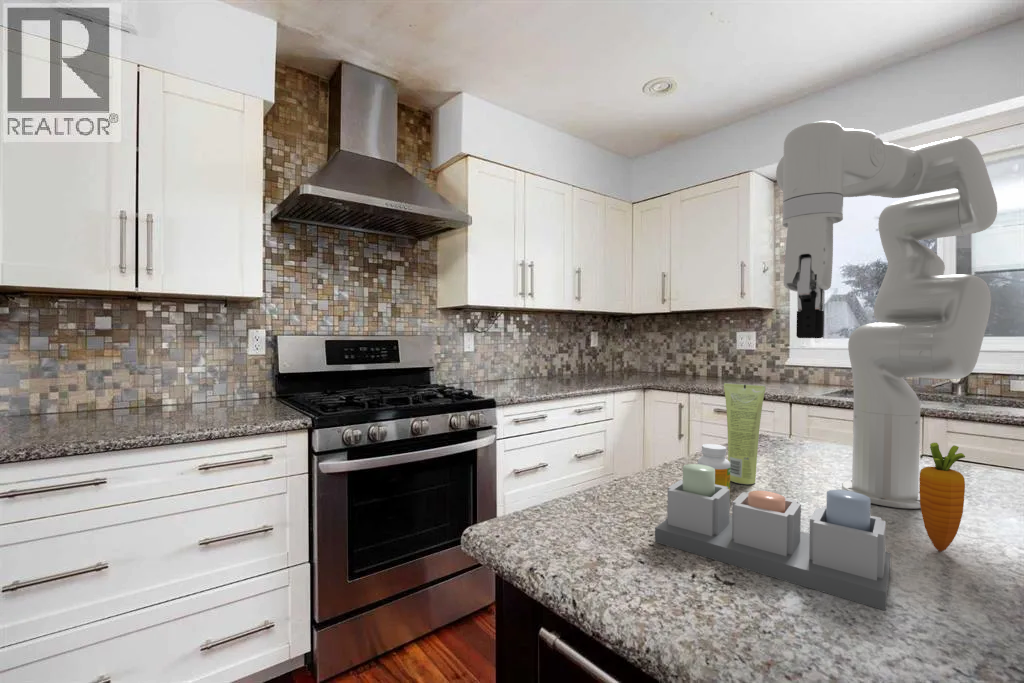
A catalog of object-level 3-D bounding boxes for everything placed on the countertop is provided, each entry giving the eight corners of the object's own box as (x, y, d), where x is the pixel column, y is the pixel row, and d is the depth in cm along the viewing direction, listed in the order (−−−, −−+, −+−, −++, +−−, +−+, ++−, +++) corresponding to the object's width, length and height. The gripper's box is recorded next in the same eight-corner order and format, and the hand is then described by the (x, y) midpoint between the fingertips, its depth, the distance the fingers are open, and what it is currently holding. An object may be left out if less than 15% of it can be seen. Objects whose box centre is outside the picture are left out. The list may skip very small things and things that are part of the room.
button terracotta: (752, 523, 68) (753, 488, 68) (787, 532, 65) (788, 495, 65) (743, 533, 65) (744, 496, 64) (780, 543, 62) (781, 504, 62)
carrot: (952, 546, 67) (955, 439, 67) (973, 562, 63) (976, 448, 62) (909, 541, 69) (912, 437, 69) (926, 556, 64) (929, 444, 64)
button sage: (688, 494, 74) (689, 462, 74) (718, 501, 71) (719, 467, 71) (677, 502, 70) (678, 468, 70) (708, 510, 67) (709, 474, 67)
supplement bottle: (733, 507, 82) (734, 450, 82) (700, 505, 83) (700, 449, 83) (725, 496, 87) (726, 443, 87) (694, 494, 88) (695, 442, 88)
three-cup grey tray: (685, 516, 78) (686, 473, 78) (890, 568, 61) (891, 513, 61) (654, 541, 69) (655, 493, 69) (885, 610, 52) (886, 546, 52)
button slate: (828, 525, 62) (829, 487, 62) (871, 535, 59) (871, 495, 59) (823, 537, 59) (824, 496, 59) (868, 547, 56) (869, 504, 56)
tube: (746, 476, 99) (747, 382, 99) (764, 484, 94) (765, 385, 94) (722, 478, 98) (723, 382, 98) (739, 486, 93) (740, 385, 93)
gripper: (792, 225, 79) (791, 337, 79) (771, 207, 67) (769, 338, 68) (848, 218, 74) (846, 337, 74) (836, 197, 62) (833, 339, 63)
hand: (809, 337), depth 71 cm, fingers closed
